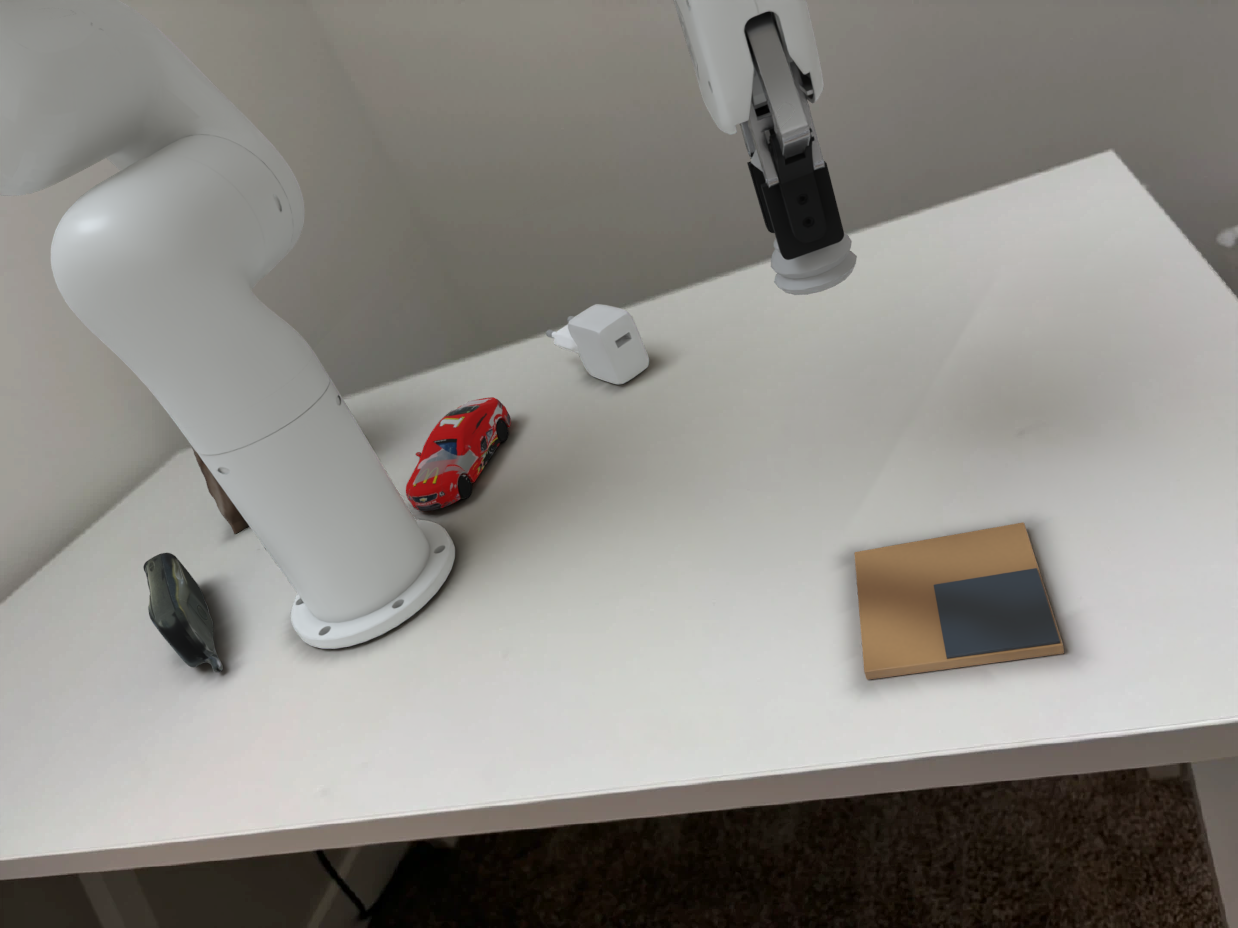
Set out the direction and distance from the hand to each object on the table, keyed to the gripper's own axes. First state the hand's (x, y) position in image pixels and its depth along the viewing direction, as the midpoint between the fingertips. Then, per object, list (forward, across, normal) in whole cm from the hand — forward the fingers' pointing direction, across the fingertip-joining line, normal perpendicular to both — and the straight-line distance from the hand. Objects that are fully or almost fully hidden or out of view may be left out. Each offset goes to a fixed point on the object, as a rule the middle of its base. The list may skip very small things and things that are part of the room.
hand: (803, 232), depth 49 cm
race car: (+17, -20, -30) cm, 40 cm away
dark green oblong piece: (+17, -9, -51) cm, 54 cm away
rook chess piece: (+3, 0, 0) cm, 3 cm away
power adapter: (+17, -30, -17) cm, 39 cm away
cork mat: (+17, +11, +1) cm, 20 cm away
